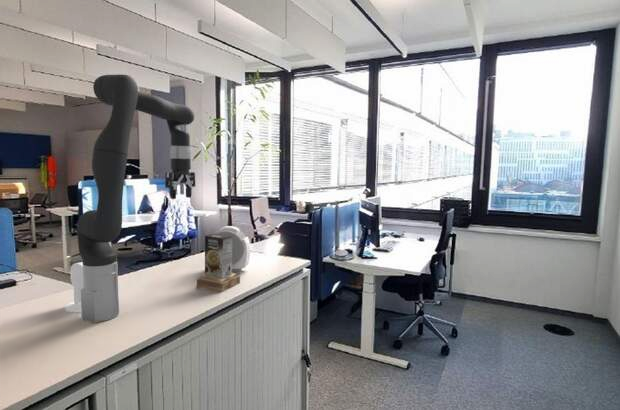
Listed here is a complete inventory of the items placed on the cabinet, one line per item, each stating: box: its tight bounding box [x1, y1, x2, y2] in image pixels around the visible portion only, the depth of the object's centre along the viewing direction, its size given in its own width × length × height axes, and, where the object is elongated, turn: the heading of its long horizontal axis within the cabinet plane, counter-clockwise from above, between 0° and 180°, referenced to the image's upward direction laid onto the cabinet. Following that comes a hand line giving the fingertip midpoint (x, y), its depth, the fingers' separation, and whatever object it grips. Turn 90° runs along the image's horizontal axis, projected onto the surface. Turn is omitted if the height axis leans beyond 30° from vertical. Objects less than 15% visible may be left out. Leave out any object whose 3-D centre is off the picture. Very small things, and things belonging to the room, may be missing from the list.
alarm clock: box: [216, 225, 251, 274], centre depth 162 cm, size 18×8×20 cm, turn 84°
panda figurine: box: [64, 258, 84, 314], centre depth 119 cm, size 12×11×15 cm
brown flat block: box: [196, 272, 241, 293], centre depth 143 cm, size 12×12×4 cm
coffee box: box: [204, 233, 233, 279], centre depth 142 cm, size 9×6×16 cm
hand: (181, 198), depth 144 cm, fingers open, 8 cm apart
